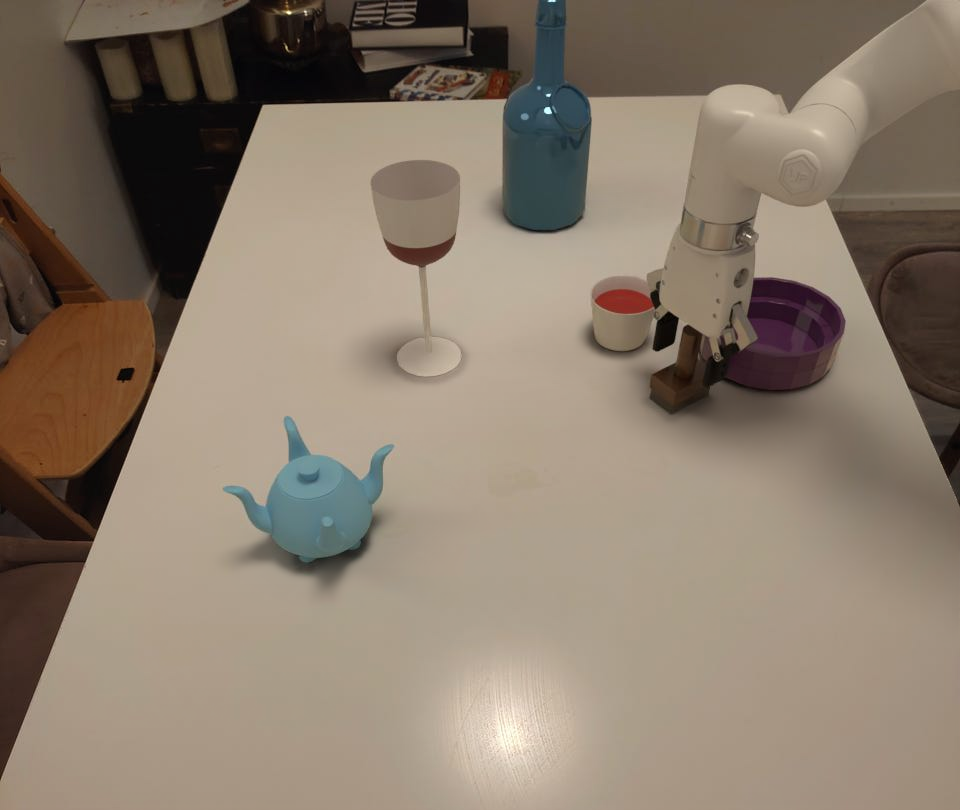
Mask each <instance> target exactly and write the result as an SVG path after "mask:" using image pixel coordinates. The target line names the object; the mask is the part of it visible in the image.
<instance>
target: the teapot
mask: <svg viewBox="0 0 960 810" xmlns="http://www.w3.org/2000/svg"><path fill="white" fill-rule="evenodd" d="M283 425H284V429H285V432H286V436H287V443H288V463H286V464H285V465H284V466H283V467H282V468H281V469H280V471H279V472H278V473H277V474H276V477H275V479H274V481H273V482H272V484H271V486H270V488H269V491H268V494H267V497H266V503H265V505H262V504H259V503H257V502H256V500H255V499H254V496H253V494H252V493H251V492H250V490H249V489H247V488H246V487H243V486H240V485H226V486H223V487H222V491H223V492H225V493H227V494H231V495H232V496H235V497H236V498H238V499H239V501H240V502H241V503H242V505H243V508H244V511H245V513H246V515H247V518H248V519H249V521H250V523H251V524H252V526H253V527H255V528H256V529H257V530H259V531H261V532H263V533H266V534H269V535H270V537H271V538H272V540H273V541H274V542H275V543H276V544H277V545H278V547H281V549H283V550H285V551H287V552H289V553H291V554H293V555H296V556H298V559H299V561H301V562H302V563H311V562H314V561H315V560H317V559H319V558H320V559H321V558H328V557H333V556H336V555H338V554H339V555H340V554H341V553H343V552H346V551H347V550H349V551H353V550H356V549H358V548H359V547H360V546H361V543H362V541H361V540H362V538H363V537H364V536H365V535H366V534H367V532H368V530H369V529H370V526H371V523H372V520H373V513H374V511H373V505H374V504H375V503H376V502H377V501H378V499H379V498H380V497H381V494H382V492H383V487H384V462H385V460H386V458H387V456H388V455H389V454H390V453H391V452H392V451H393V450H394V448H395V445H394V444H393V443H390V444H385V445H384V446H382V447H380V448H379V449H377V450H376V451H375V453H374V454H373V455H372V457H371V460H370V466H369V471H368V473H367V474H366V475H365V476H364V477H363V478H362V479H359V478H358V477H357V475H356V474H355V473H354V472H353V471H351V470H350V469H349V468H348V467H347V466H345V465H344V464H342V463H341V462H340V461H338V460H336V459H334V458H332V457H330V456H328V455H324V454H311V452H310V451H309V449H308V447H307V446H306V443H305V442H304V440H303V438H302V436H301V434H300V432H299V429H298V426H297V425H296V423H295V420H294V419H293V418H292V417H291V416H290V415H285V416H284V418H283Z"/></svg>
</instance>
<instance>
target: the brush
mask: <svg viewBox="0 0 960 810" xmlns="http://www.w3.org/2000/svg"><path fill="white" fill-rule="evenodd" d="M702 335H703V334H702V333H701V332H699V331H698V330H696V329H694V328H693V327H691V326H690V325H688V324H686V325H684V326H683V327H682V331H681V335H680V341H679V346H678V351H677V356H676V361H675V362H674V363H671V364H670V365H668V366H665V367H663V368H662V369H659V370H657V371H655V372H653V373H651V376H650V382H649V389H650V395H649V399H651V400H652V401H654V402H655V403H656V404H657V405H659V406H660V407H661V408H663V409H664V410H665V411H667V412H668V413H669V414H671V415H672V414H674V413H676V412H679V411H680V410H682V409H684V408H686V407H688V406H690V405H691V404H693V403H695V402H697V401H699V400H701V399H703V398H705V397H707V396H709V395H710V392H711V387H712V386H714V385H715V384H713V385H711V386H709V387H707V388H706V387H705V386H703V384H702V382H703V377H704V373H705V369H706V364H707V363H705V362H703V360H701V359H699V358H698V357H699V354H700V353H699V352H700V344H701V340H702Z"/></svg>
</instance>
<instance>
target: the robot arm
mask: <svg viewBox="0 0 960 810" xmlns="http://www.w3.org/2000/svg"><path fill="white" fill-rule="evenodd" d="M952 91H960V0H925V1H924V2H922V3H921V4H920V5H918V6H917V7H916V8H914V9H913V10H912V11H910V12H909V13H907V14H906V15H904V16H902V17H901V18H899V19H898V20H896V21H895V22H893V23H892V24H890V25H889V26H888V27H886V28H884V29H883V30H882V31H881V32H879V33H878V34H877V35H875V36H873V38H872V39H870V40H869V41H867V42H866V43H864V44H863V45H862V46H861V47H860V48H858V49H857V50H856V51H854V52H853V53H852V54H850V55H849V56H847V58H845V59H844V60H843V61H841V62H840V63H839V64H838V65H837V66H835V67H834V68H833V69H831V70H830V71H829V72H827V73H826V74H825V75H824V76H823V77H821V78H820V79H819V80H817V82H815V83H814V84H813V85H812V86H810V88H809V89H807V91H806V92H804V94H803V95H802V96H801V97H800V99H799V100H798V101H797V102H796V104H795V105H794V107H793V108H792V109H791V111H790V112H789V113H786V114H782V113H781V106H780V103H779V100H778V97H776V96H775V95H774V94H773V93H772V92H771V91H770V90H769V89H768V90H767V89H766V88H763V87H761V86H756V85H751V84H743V83H742V84H741V83H739V84H738V83H736V84H726V85H723V86H720V87H717V88H715V89H714V90H712V91H711V92H710V93H708V95H707V96H706V97H705V98H704V100H703V101H702V104H701V107H700V110H699V115H698V120H697V127H696V131H695V137H694V142H693V149H692V155H691V160H690V167H689V172H688V178H687V184H686V190H685V196H684V202H683V206H682V212H681V219H680V223H678V225H677V226H676V228H675V231H674V233H673V235H672V238H671V241H670V244H669V247H668V250H667V253H666V256H665V261H664V265H663V267H662V268H658V269H657V268H656V269H655V270H652V271H650V272H648V273H647V274H646V280H647V281H648V285H649V289H650V290H651V293H650V298H651V301H652V303H653V306H654V308H655V311H654V313H653V316H654V318H653V319H655V320H656V324H655V331H654V337H653V342H652V351H654V352H656V353H657V352H660V351H663V350H665V349H667V348H668V347H671V346H673V345H674V344H675V341H676V338H677V332H678V327H679V320H681V321H683V322H684V323H685V324H686V325H690V326H691V327H693V328H694V329H696V330H698V331H699V332H701V333H702V334H704V335H706V336H707V337H709V341H710V345H711V349H712V354H713V355H712V356H710V357H709V358H708V360H707V362H706V363H705V364H706V369H705V373H704V377H703V382H702V384H703V386H705V387H706V388H707V387H709V386H711V385H712V386H714V385H716V384H717V383H719V382H721V381H723V380H724V379H725V376H726V374H727V370H728V366H729V362H730V358H731V356H733V355H735V354H737V353H739V352H741V351H743V350H745V349H746V348H747V347H749V346H750V345H751V344H753V343H754V342H755V341H756V340H757V335H756V333H755V331H754V329H753V327H752V325H751V323H750V322H749V320H748V318H747V313H748V308H749V303H750V298H751V293H752V287H753V280H754V278H755V269H756V243H758V240H759V238H760V236H759V235H760V234H759V233H758V232H757V231H755V229H754V226H755V222H756V217H757V214H758V209H759V205H760V200H761V196H762V195H765V196H767V197H769V198H771V199H773V200H775V201H777V202H780V203H783V204H785V205H787V206H788V205H789V206H793V207H799V208H802V207H803V208H806V207H813V206H816V205H819V204H821V203H823V202H824V201H826V200H828V199H829V198H830V197H831V196H832V195H833V194H835V192H836V191H837V189H838V188H839V187H840V185H841V184H842V183H843V180H844V178H846V175H847V173H848V171H849V169H850V168H851V165H852V164H853V162H854V159H855V157H856V156H857V153H858V152H859V150H860V148H861V146H862V145H864V144H865V143H866V142H867V141H869V140H870V139H871V138H872V137H874V136H875V135H877V134H878V133H880V132H881V131H882V130H884V129H885V128H887V127H888V126H890V125H891V124H892V123H894V122H896V121H897V120H898V119H899V118H901V117H903V116H904V115H906V114H907V113H909V112H910V111H912V110H913V109H915V108H917V107H918V106H920V105H922V104H924V103H925V102H927V101H929V100H931V99H933V98H935V97H937V96H939V95H942V94H946V93H948V92H952ZM733 327H734V329H735V331H736V333H737V335H738V339H737V340H736V338H735V333H734V329H733ZM722 335H724V339H725V343H726V346H724V347H722V344H721V340H720V336H722ZM713 384H714V385H713ZM712 386H711V387H712Z"/></svg>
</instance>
